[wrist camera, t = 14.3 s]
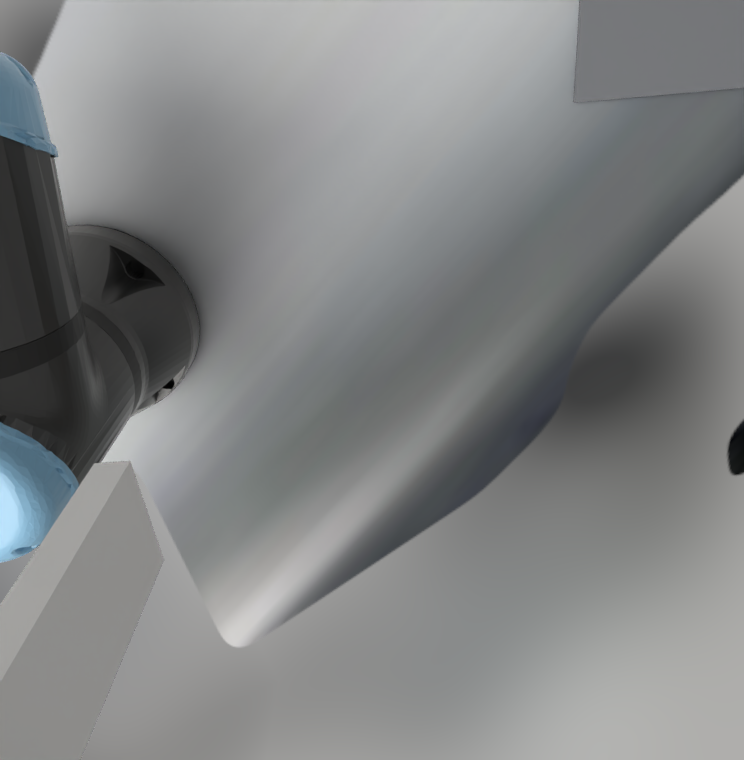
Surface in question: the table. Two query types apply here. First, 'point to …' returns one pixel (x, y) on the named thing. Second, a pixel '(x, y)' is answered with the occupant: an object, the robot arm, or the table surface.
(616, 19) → the rubber mat
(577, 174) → the table surface
